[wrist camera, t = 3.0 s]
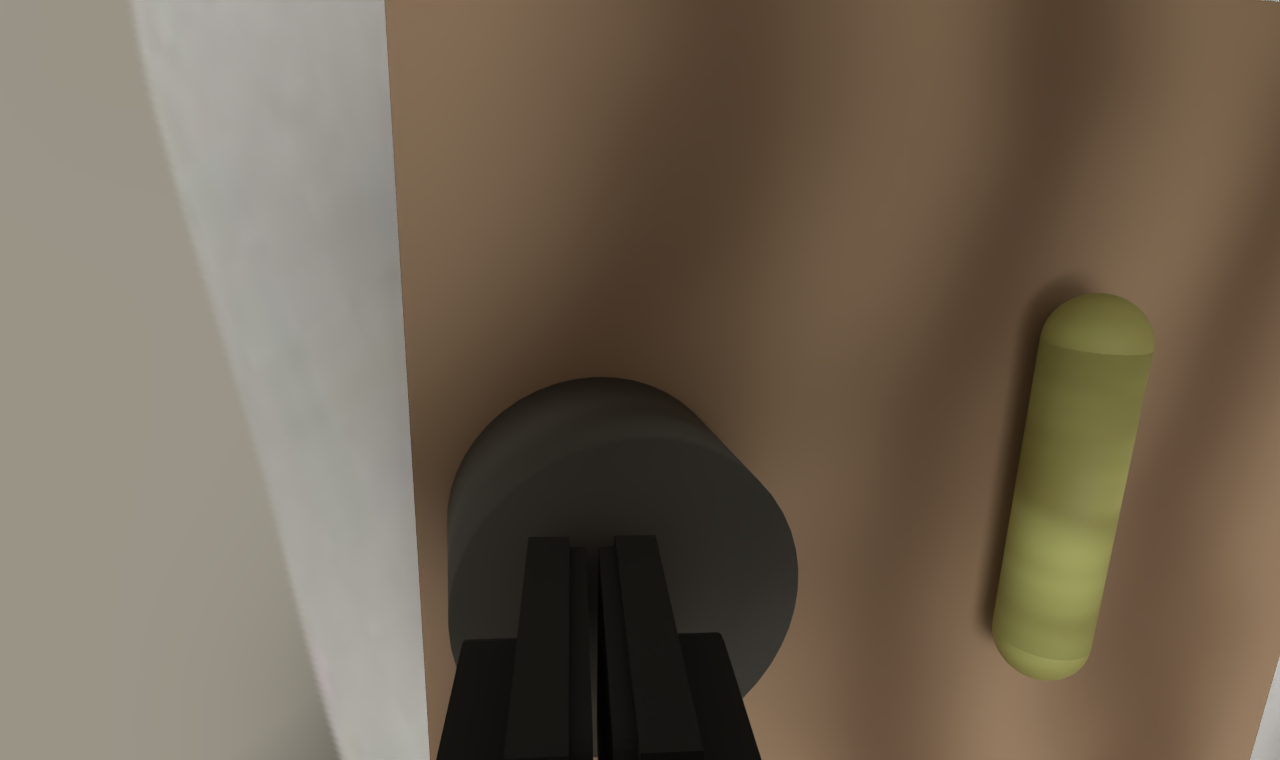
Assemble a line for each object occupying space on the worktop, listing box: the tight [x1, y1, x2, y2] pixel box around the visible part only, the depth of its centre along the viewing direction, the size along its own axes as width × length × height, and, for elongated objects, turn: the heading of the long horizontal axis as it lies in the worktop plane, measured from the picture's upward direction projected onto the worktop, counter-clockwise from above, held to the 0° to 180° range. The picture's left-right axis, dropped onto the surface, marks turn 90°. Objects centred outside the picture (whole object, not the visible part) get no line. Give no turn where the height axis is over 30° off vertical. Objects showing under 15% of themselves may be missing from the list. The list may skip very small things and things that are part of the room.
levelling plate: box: [385, 0, 1280, 760], centre depth 15 cm, size 20×18×4 cm
